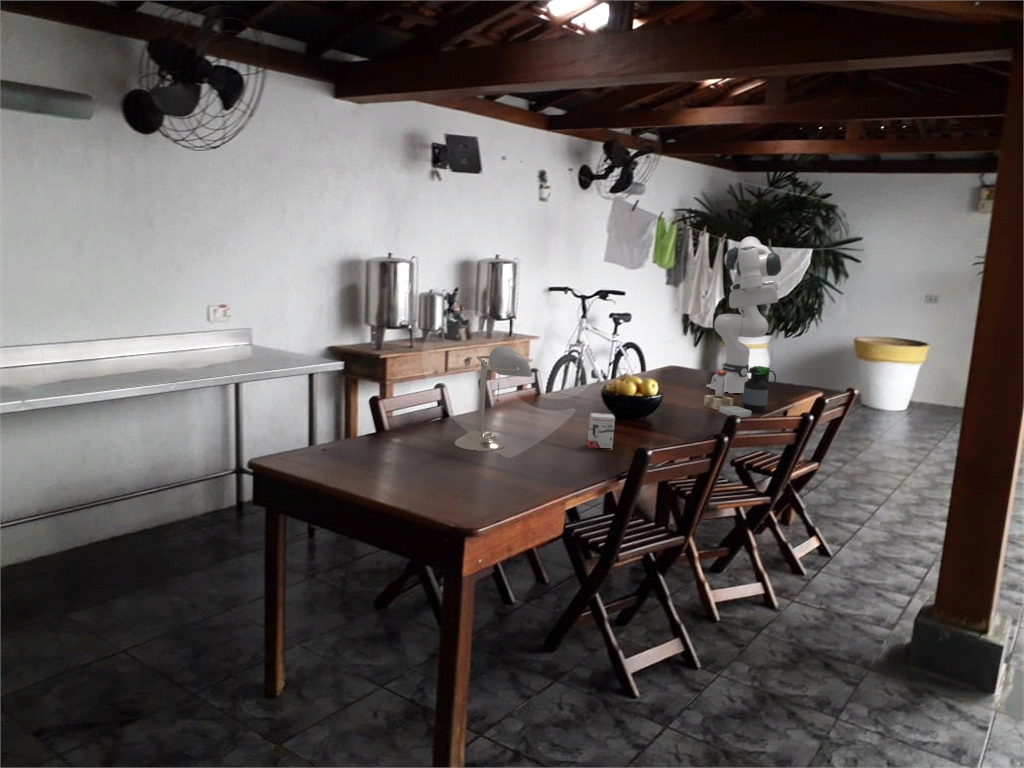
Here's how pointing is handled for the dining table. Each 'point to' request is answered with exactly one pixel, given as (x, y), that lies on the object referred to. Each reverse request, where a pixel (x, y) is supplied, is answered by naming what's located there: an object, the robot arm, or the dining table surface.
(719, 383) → the pin
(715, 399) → the block
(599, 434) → the ink box
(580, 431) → the dining table surface
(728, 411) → the tray
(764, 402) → the grenade
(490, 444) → the lamp
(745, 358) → the robot arm
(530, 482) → the dining table surface
